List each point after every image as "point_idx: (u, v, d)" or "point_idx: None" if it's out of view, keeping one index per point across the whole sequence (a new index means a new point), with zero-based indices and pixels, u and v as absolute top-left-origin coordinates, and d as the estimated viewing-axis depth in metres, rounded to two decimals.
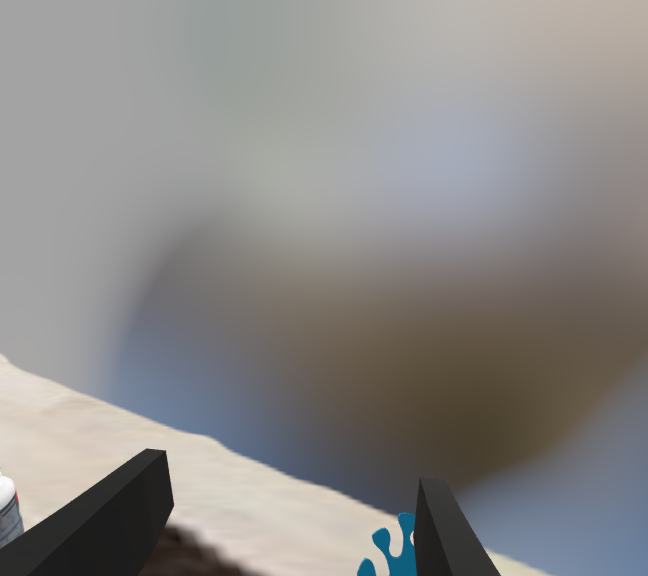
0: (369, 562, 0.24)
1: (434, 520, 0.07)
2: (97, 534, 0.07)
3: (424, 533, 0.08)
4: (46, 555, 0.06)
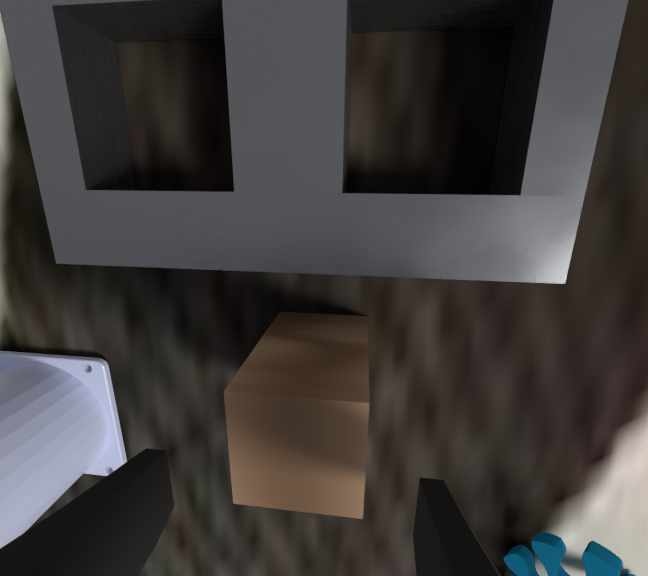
0: None
1: (434, 520, 0.07)
2: (97, 534, 0.07)
3: (424, 533, 0.08)
4: (46, 555, 0.06)
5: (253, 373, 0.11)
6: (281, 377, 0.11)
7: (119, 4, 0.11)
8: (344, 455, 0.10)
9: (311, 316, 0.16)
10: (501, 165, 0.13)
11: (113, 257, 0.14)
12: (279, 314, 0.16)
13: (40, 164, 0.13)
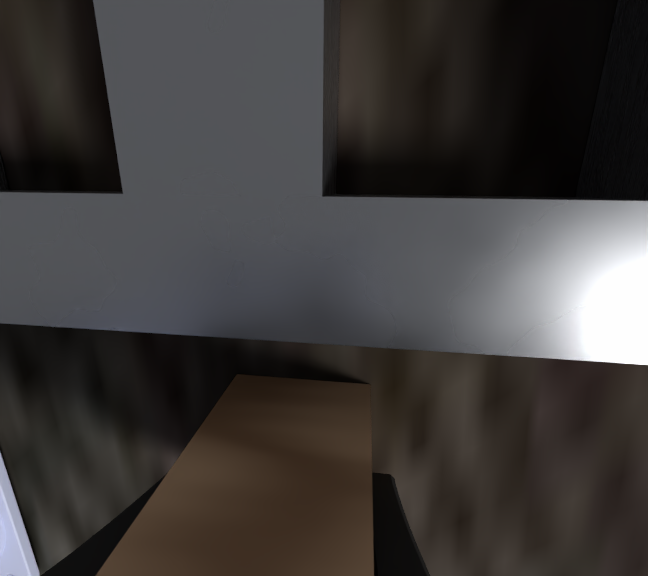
0: None
1: None
2: None
3: None
4: None
5: (137, 566, 0.05)
6: None
7: None
8: None
9: (283, 385, 0.11)
10: (610, 146, 0.07)
11: None
12: (234, 381, 0.11)
13: None
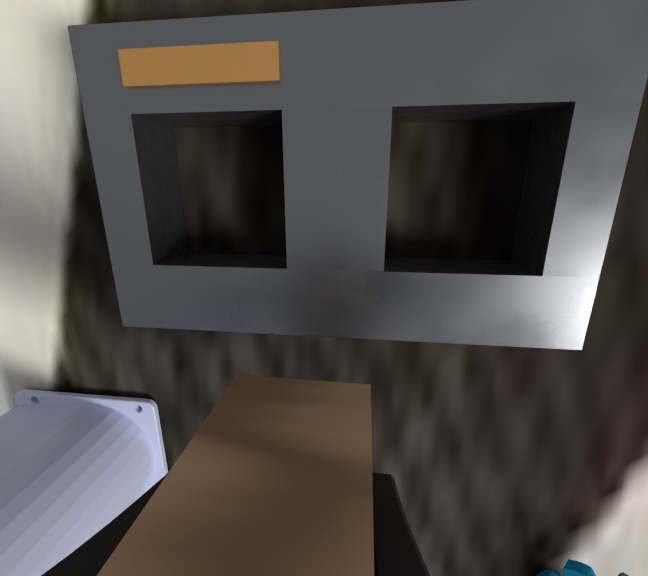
0: None
1: None
2: None
3: None
4: None
5: (137, 566, 0.05)
6: None
7: (189, 113, 0.13)
8: None
9: (283, 385, 0.11)
10: (522, 239, 0.15)
11: (175, 321, 0.15)
12: (234, 381, 0.11)
13: (113, 243, 0.15)
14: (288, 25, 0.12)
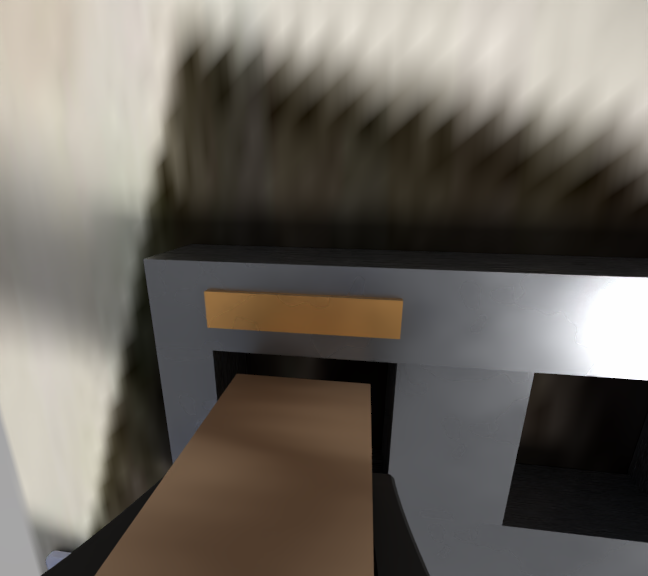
0: None
1: None
2: None
3: None
4: None
5: (136, 565, 0.05)
6: None
7: (283, 352, 0.11)
8: None
9: (283, 385, 0.11)
10: None
11: None
12: (234, 380, 0.11)
13: None
14: (415, 282, 0.10)
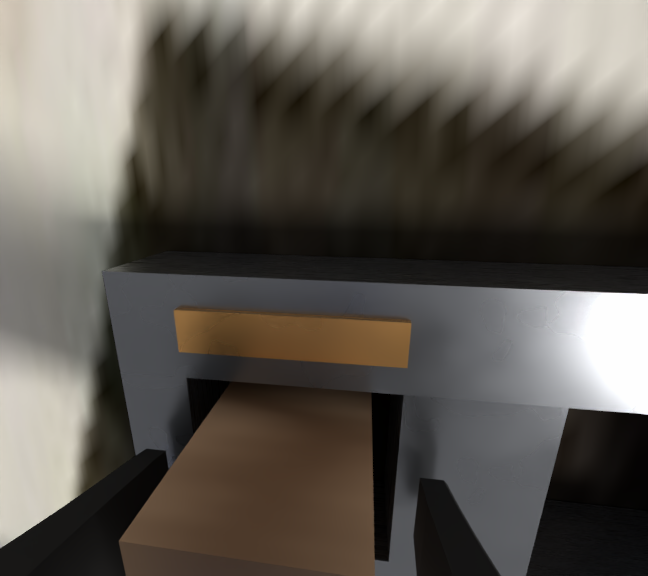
0: None
1: (434, 520, 0.07)
2: (97, 534, 0.07)
3: (424, 533, 0.08)
4: (45, 555, 0.06)
5: (183, 490, 0.07)
6: (226, 501, 0.07)
7: (269, 380, 0.09)
8: None
9: None
10: None
11: None
12: None
13: None
14: (426, 301, 0.08)
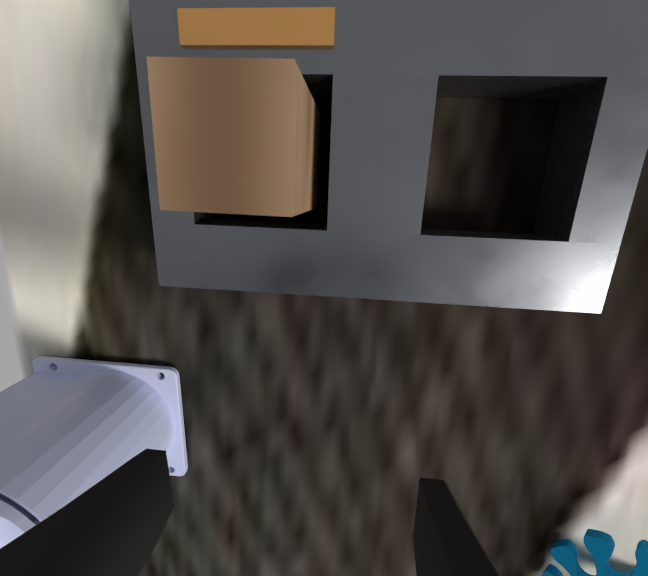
0: None
1: (434, 520, 0.07)
2: (97, 534, 0.07)
3: (424, 533, 0.08)
4: (46, 555, 0.06)
5: None
6: None
7: None
8: (271, 133, 0.10)
9: None
10: (546, 212, 0.16)
11: (212, 281, 0.16)
12: None
13: (155, 201, 0.15)
14: None
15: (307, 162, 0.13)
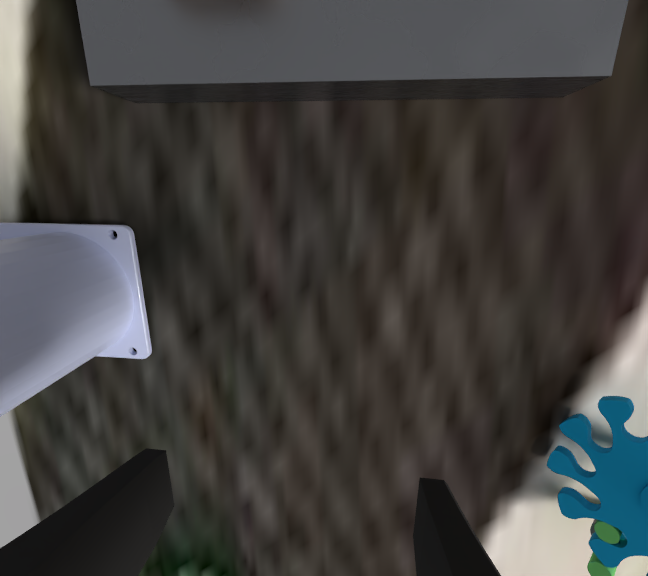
0: None
1: (434, 520, 0.07)
2: (97, 534, 0.07)
3: (424, 533, 0.08)
4: (46, 555, 0.06)
5: None
6: None
7: None
8: None
9: None
10: None
11: (150, 74, 0.13)
12: None
13: None
14: None
15: None
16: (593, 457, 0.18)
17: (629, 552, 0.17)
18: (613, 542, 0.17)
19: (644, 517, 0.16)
